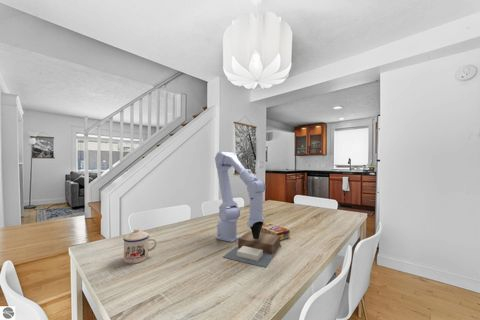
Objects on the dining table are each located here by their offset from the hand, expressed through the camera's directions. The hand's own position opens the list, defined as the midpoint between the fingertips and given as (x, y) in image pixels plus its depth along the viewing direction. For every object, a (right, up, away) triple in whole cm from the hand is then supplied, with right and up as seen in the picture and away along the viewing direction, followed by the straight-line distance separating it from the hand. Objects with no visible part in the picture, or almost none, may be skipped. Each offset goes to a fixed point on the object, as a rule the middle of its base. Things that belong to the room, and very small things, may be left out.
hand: (256, 238), depth 90 cm
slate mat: (-3, -5, -7) cm, 9 cm away
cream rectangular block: (-3, -2, -6) cm, 8 cm away
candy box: (+15, -3, +12) cm, 20 cm away
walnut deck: (+2, -5, +4) cm, 7 cm away
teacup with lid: (-47, -5, -9) cm, 48 cm away
